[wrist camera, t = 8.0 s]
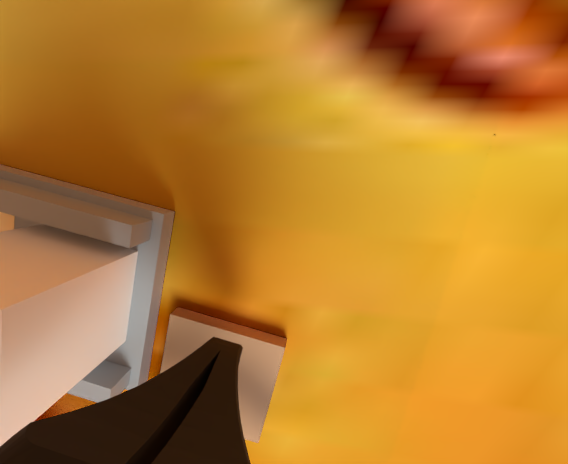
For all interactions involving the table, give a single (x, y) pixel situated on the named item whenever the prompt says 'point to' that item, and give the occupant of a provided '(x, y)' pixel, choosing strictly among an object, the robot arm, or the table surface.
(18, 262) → the block
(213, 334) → the stand
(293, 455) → the table surface
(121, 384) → the tray
